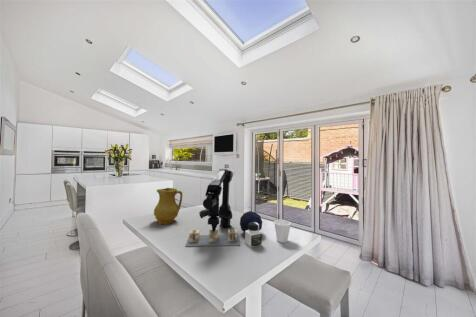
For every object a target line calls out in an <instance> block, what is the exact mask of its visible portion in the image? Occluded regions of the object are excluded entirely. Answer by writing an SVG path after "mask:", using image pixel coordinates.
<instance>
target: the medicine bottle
mask: <svg viewBox="0 0 476 317" xmlns="http://www.w3.org/2000/svg"><path fill="white" fill-rule="evenodd" d="M244 243H245V244H246V245H247V246H248V247H249V248H257V247H260V246H263V233H262V232H261V231H259V224H258V223H256V222H251V223H249V224H248V230H246V231H245V233H244Z"/></svg>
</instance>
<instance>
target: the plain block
mask: <svg viewBox="0 0 476 317" xmlns="http://www.w3.org/2000/svg"><path fill="white" fill-rule="evenodd" d="M208 231H209V232H208V235H209V242H218V235H219V229H215V231H214V232H213V230H212V229H209V230H208Z"/></svg>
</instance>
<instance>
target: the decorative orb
mask: <svg viewBox="0 0 476 317" xmlns="http://www.w3.org/2000/svg"><path fill="white" fill-rule="evenodd" d="M251 222H256V223H258V224H259V232H261V231H260V230H262V226H263V220H262V218H261V215H260V214H258V212H255V211H251V210H248V211H246V212H244V213H243V214H242V215H241V217H240V221H239V226H240V230H241V231H242V232H243V233H244V234H245V231H246V230H248V224H249V223H251Z"/></svg>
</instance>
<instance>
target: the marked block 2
mask: <svg viewBox="0 0 476 317" xmlns="http://www.w3.org/2000/svg"><path fill="white" fill-rule="evenodd" d="M227 235H228V241H237V235H238V232H237V229H236V228H235V229H233V228H232V229H231V228H230V229H229V228H228V230H227Z"/></svg>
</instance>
